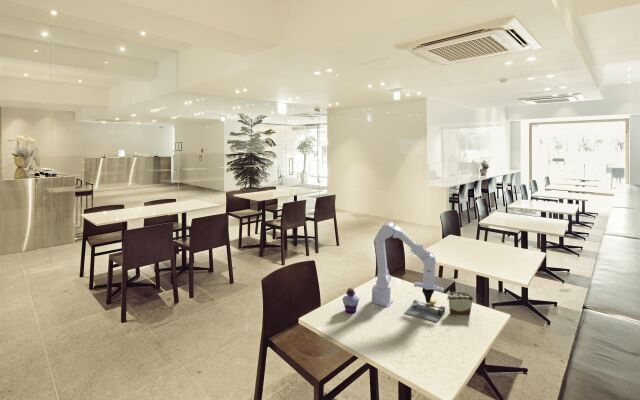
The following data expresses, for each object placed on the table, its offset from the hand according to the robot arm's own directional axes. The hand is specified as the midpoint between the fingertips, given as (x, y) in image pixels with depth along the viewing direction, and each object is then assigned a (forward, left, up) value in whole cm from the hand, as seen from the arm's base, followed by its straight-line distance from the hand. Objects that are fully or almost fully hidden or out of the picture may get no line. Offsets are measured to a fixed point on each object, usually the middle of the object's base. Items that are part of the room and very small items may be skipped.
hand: (428, 302), depth 170 cm
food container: (+14, +4, -4) cm, 15 cm away
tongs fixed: (0, 0, -3) cm, 3 cm away
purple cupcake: (-32, -24, -4) cm, 40 cm away
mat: (0, -5, -4) cm, 6 cm away
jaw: (+1, -3, -3) cm, 4 cm away
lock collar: (+2, 0, -1) cm, 2 cm away
